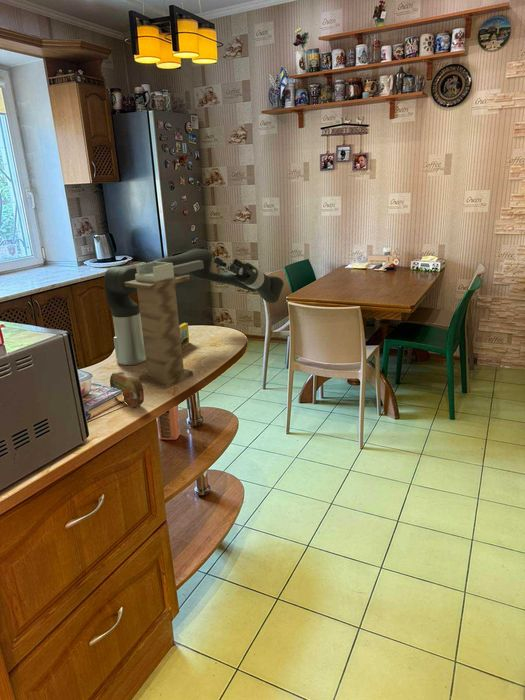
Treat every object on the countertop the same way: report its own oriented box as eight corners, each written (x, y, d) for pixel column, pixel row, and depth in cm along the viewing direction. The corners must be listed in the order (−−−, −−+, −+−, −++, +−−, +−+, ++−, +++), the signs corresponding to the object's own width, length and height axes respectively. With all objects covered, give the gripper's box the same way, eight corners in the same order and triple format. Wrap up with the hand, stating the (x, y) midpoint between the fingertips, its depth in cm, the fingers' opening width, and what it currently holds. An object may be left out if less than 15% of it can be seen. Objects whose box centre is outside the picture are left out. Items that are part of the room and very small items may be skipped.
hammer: (154, 283, 142) (152, 267, 140) (135, 280, 146) (133, 265, 145) (210, 269, 160) (208, 255, 158) (192, 267, 164) (190, 253, 163)
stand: (163, 389, 149) (150, 285, 138) (137, 381, 156) (123, 282, 145) (199, 372, 161) (190, 275, 150) (173, 365, 168) (163, 272, 157)
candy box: (169, 357, 177) (167, 335, 174) (164, 357, 177) (161, 335, 174) (190, 343, 191) (188, 322, 188) (185, 342, 192) (183, 322, 189)
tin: (111, 396, 146) (106, 370, 144) (120, 393, 148) (116, 367, 146) (137, 411, 136) (134, 383, 133) (147, 407, 138) (144, 380, 135)
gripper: (263, 287, 178) (237, 272, 165) (232, 283, 186) (205, 269, 173) (268, 267, 179) (243, 251, 166) (237, 264, 187) (211, 248, 174)
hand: (224, 260), depth 169 cm, fingers open, 8 cm apart
